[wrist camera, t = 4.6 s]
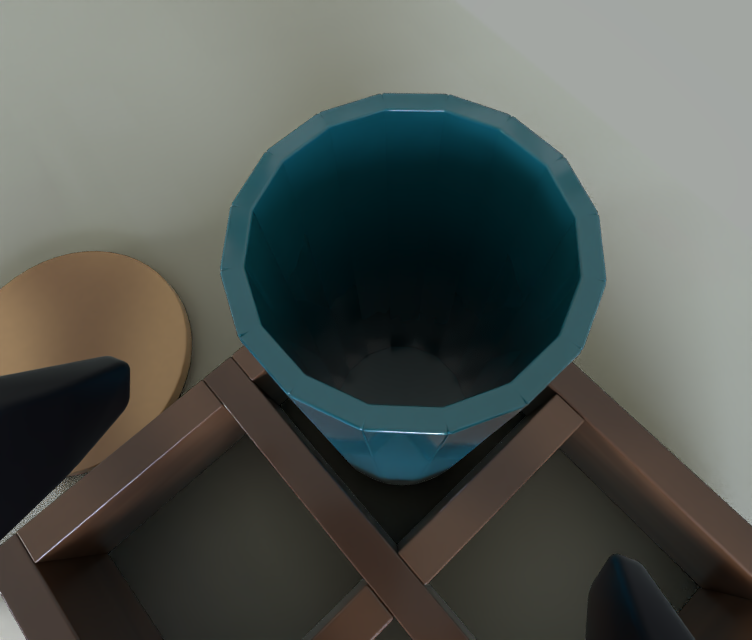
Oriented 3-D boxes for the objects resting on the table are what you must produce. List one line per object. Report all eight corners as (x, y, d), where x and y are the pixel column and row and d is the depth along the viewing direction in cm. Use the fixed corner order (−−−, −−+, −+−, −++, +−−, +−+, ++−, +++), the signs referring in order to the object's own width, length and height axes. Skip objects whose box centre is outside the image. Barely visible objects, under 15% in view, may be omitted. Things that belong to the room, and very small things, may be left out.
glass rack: (380, 1054, 14) (374, 1260, 10) (65, 550, 18) (-21, 560, 14) (747, 589, 17) (847, 611, 13) (405, 262, 22) (407, 210, 18)
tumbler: (397, 518, 18) (402, 529, 6) (301, 406, 20) (149, 234, 7) (502, 415, 19) (685, 248, 7) (403, 317, 21) (416, 39, 9)
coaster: (35, 532, 18) (23, 533, 18) (-75, 353, 21) (-88, 348, 20) (237, 365, 20) (233, 361, 20) (114, 219, 23) (107, 211, 22)
